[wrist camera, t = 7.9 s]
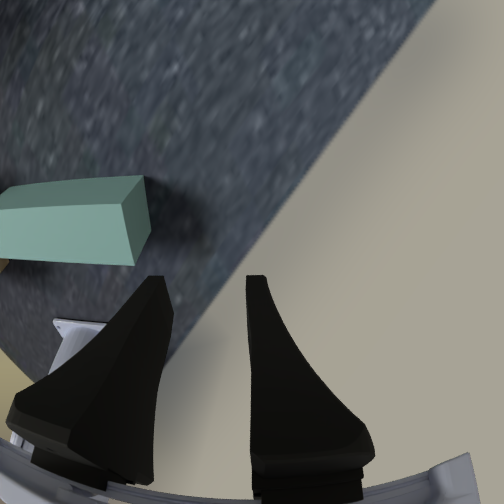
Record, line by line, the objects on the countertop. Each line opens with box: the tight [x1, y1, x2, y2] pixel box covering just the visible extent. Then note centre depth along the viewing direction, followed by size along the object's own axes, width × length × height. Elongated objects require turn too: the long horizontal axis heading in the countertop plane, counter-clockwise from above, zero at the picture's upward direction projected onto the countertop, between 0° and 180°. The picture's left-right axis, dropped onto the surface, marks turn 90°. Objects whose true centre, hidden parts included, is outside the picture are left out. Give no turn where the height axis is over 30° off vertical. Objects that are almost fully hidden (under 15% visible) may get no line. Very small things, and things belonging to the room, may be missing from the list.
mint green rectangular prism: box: [0, 175, 151, 266], centre depth 17 cm, size 4×12×4 cm, turn 88°
